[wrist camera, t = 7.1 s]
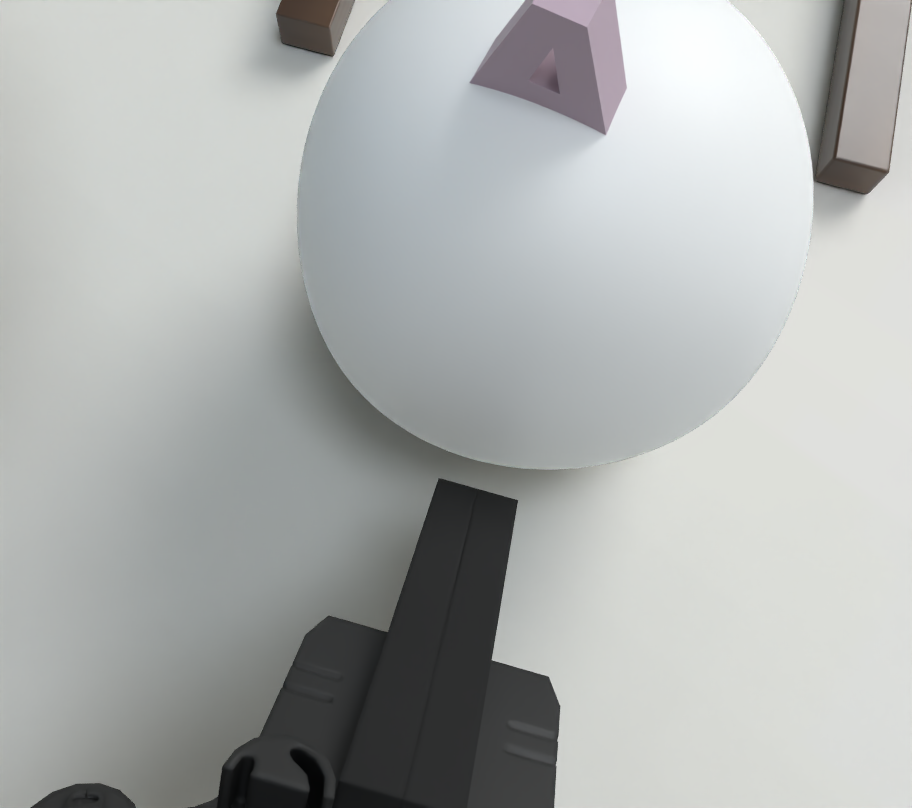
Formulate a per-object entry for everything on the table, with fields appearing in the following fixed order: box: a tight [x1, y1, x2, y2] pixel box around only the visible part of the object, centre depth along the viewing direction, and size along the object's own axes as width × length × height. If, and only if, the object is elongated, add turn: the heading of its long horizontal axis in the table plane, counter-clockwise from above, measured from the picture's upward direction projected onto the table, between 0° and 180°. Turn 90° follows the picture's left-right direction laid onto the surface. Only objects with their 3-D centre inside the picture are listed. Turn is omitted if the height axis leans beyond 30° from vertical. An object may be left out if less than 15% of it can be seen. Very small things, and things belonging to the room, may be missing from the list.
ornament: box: [297, 0, 814, 470], centre depth 17 cm, size 10×10×12 cm
